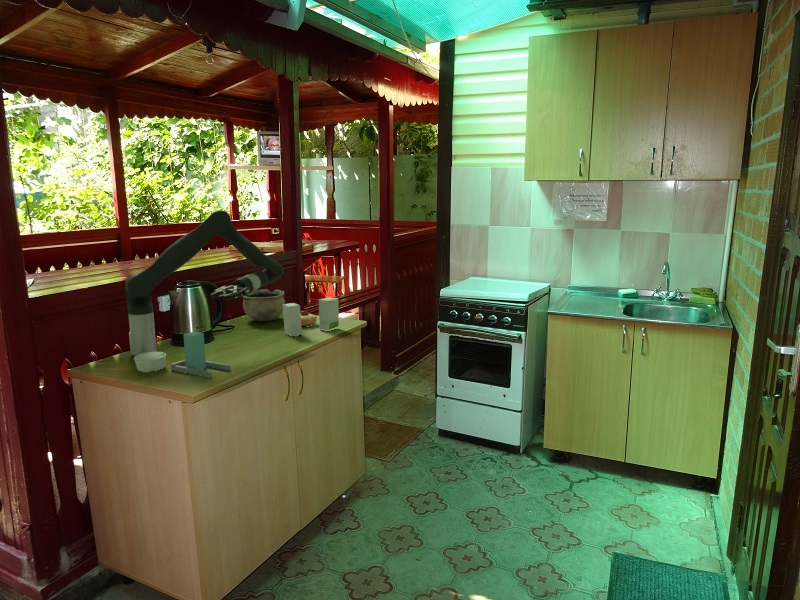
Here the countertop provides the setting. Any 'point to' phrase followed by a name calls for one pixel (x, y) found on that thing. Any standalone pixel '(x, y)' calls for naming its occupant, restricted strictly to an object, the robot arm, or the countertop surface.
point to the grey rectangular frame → (182, 368)
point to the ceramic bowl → (264, 304)
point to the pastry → (307, 318)
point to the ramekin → (150, 361)
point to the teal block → (195, 350)
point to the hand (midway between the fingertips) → (218, 297)
